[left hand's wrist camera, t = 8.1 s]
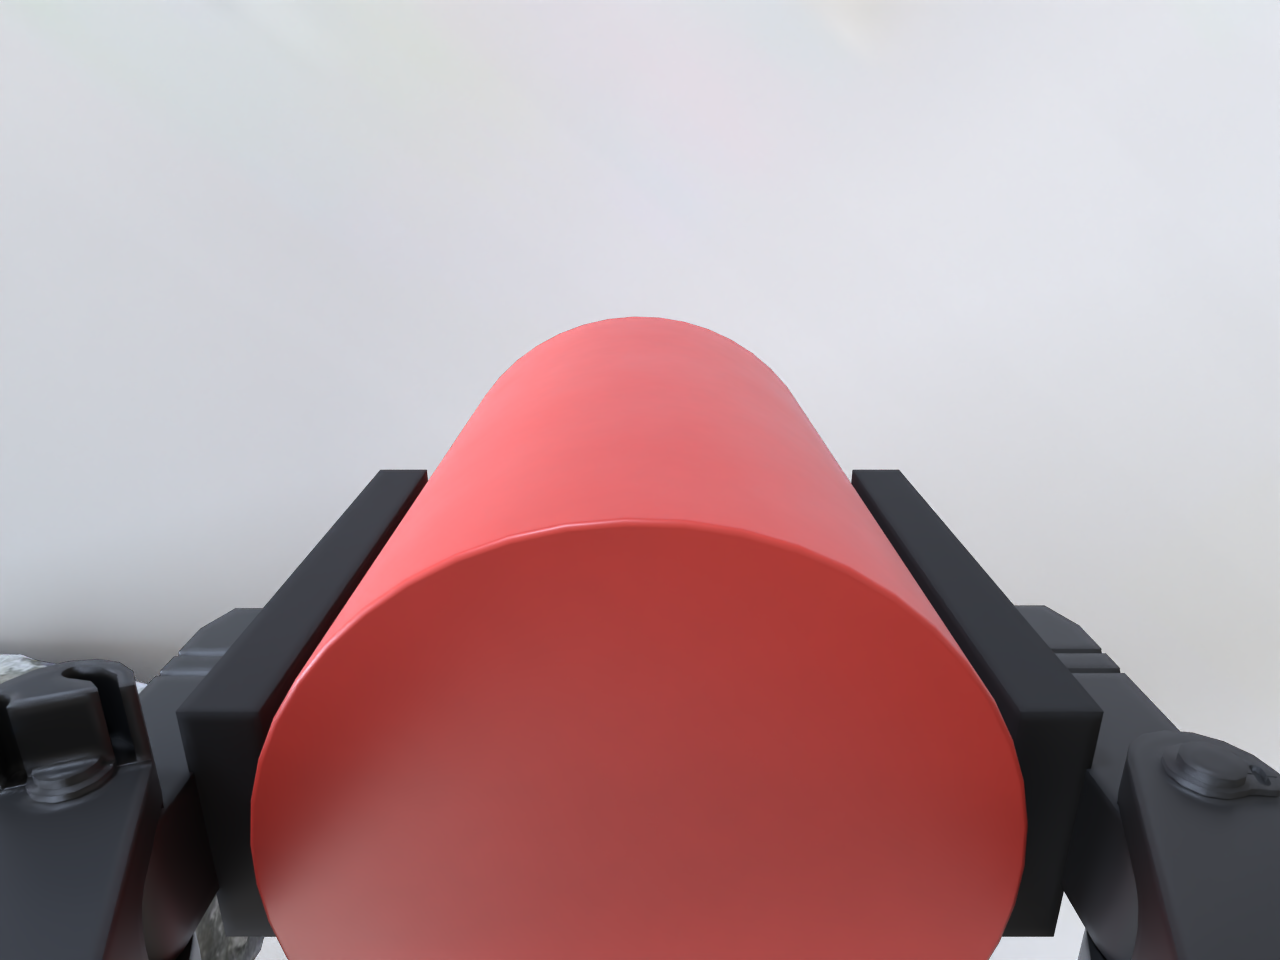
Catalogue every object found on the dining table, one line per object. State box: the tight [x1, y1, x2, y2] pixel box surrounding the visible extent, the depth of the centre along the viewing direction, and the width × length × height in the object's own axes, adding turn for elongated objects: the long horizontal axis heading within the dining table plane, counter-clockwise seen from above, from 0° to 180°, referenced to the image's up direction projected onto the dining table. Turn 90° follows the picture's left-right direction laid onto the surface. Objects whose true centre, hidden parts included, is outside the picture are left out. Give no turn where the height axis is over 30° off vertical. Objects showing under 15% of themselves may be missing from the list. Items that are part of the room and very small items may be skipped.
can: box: [250, 317, 1028, 960], centre depth 12 cm, size 7×7×9 cm
